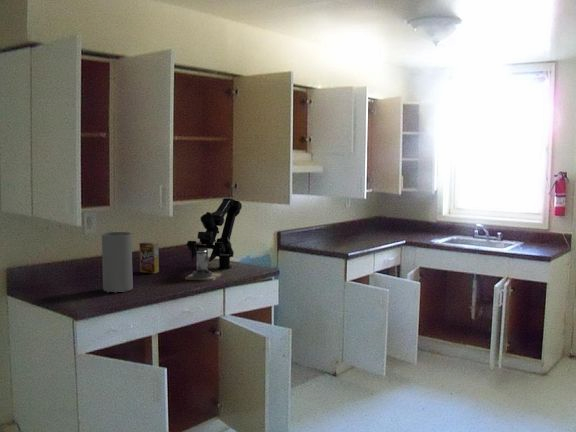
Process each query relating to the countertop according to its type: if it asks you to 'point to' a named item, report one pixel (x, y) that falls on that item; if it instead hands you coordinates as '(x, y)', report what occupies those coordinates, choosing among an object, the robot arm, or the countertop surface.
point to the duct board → (213, 277)
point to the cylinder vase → (117, 261)
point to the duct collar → (204, 275)
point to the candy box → (149, 257)
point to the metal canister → (202, 261)
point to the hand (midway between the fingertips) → (200, 260)
